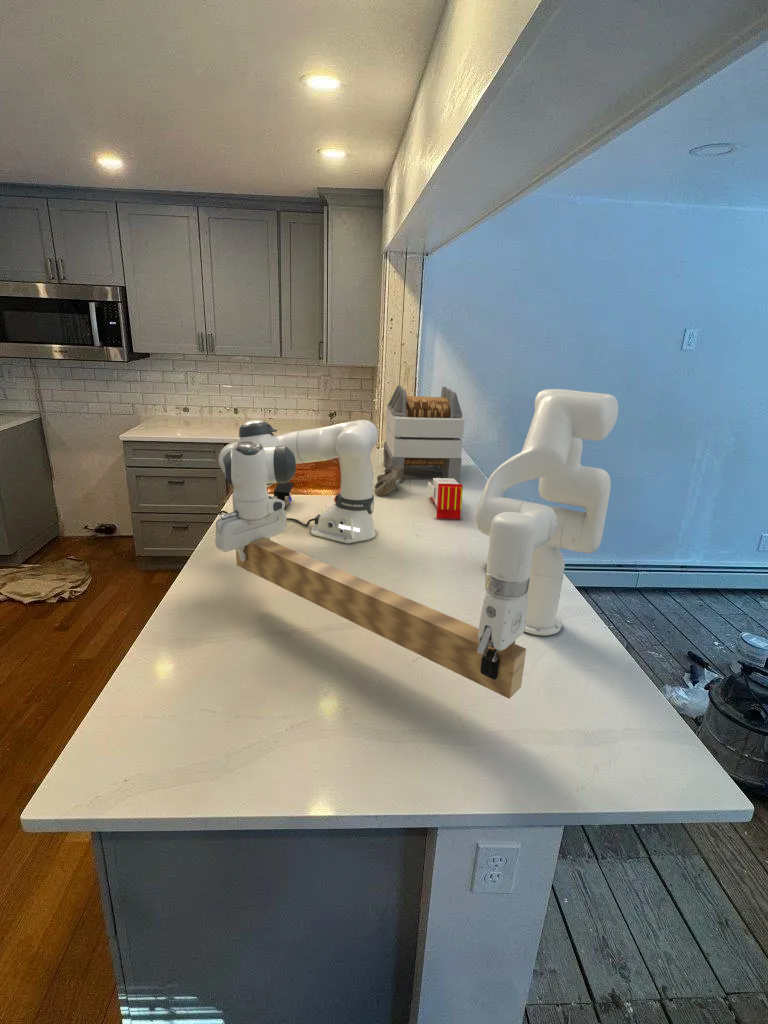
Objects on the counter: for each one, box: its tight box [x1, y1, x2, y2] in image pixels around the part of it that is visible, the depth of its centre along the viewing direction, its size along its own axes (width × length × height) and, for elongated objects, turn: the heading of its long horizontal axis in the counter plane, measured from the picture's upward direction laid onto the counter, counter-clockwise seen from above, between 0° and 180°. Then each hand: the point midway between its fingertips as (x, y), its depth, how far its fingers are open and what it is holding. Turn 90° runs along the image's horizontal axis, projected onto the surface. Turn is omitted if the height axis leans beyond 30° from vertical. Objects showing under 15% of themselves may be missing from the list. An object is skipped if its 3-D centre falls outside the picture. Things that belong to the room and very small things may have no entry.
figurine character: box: [272, 482, 294, 510], centre depth 222 cm, size 7×8×15 cm
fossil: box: [374, 466, 405, 497], centre depth 246 cm, size 22×10×15 cm
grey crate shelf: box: [383, 384, 465, 484], centre depth 268 cm, size 34×33×41 cm
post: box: [235, 538, 527, 700], centre depth 126 cm, size 80×5×8 cm, turn 51°
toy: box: [427, 477, 464, 520], centre depth 227 cm, size 12×13×30 cm
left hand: (253, 556), depth 148 cm, fingers closed on post, 4 cm apart
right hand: (495, 668), depth 106 cm, fingers closed on post, 4 cm apart
